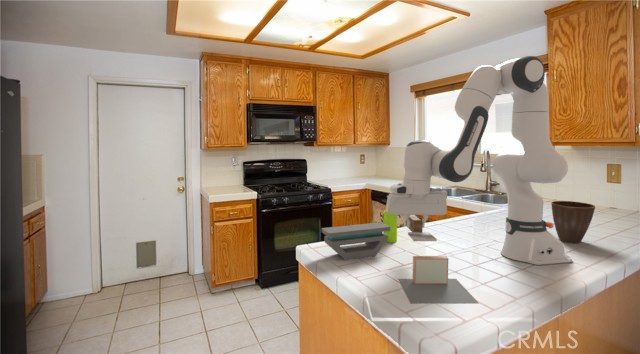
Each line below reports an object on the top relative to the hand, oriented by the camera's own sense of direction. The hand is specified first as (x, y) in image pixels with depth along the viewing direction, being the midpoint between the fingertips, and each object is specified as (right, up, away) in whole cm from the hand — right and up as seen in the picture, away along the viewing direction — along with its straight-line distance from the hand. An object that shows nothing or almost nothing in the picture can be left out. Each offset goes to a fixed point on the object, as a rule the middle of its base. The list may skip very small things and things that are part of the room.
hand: (415, 227), depth 117 cm
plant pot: (+74, -10, +27) cm, 79 cm away
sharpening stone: (-19, -13, +12) cm, 26 cm away
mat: (0, -16, -20) cm, 25 cm away
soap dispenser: (-2, -11, +31) cm, 33 cm away
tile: (0, -15, -15) cm, 21 cm away
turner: (0, -2, -1) cm, 2 cm away
